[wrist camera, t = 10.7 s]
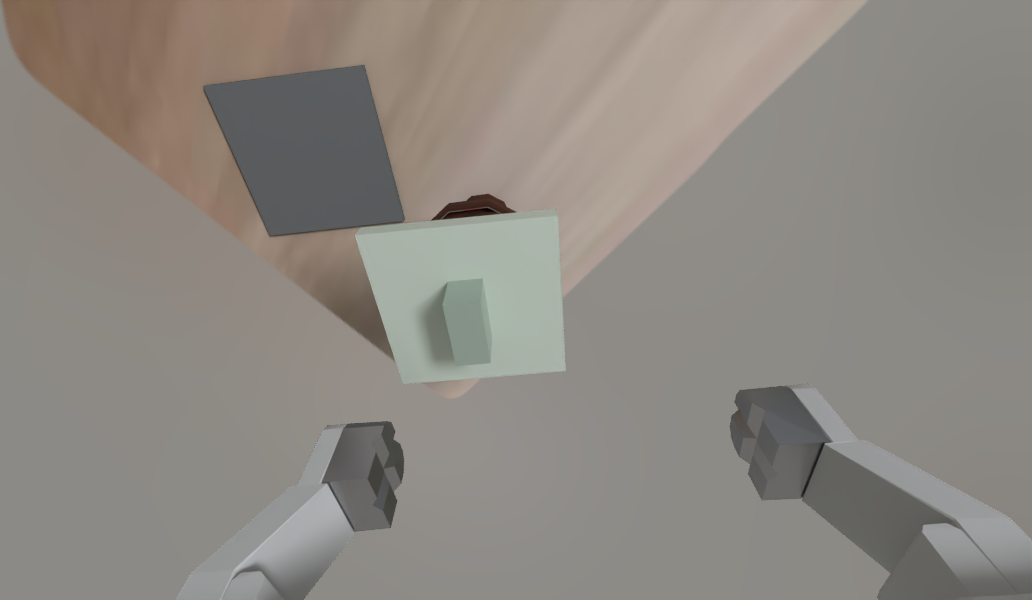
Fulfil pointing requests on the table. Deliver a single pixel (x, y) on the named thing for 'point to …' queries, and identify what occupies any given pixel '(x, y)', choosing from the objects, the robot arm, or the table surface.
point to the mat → (309, 149)
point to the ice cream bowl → (473, 208)
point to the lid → (469, 294)
